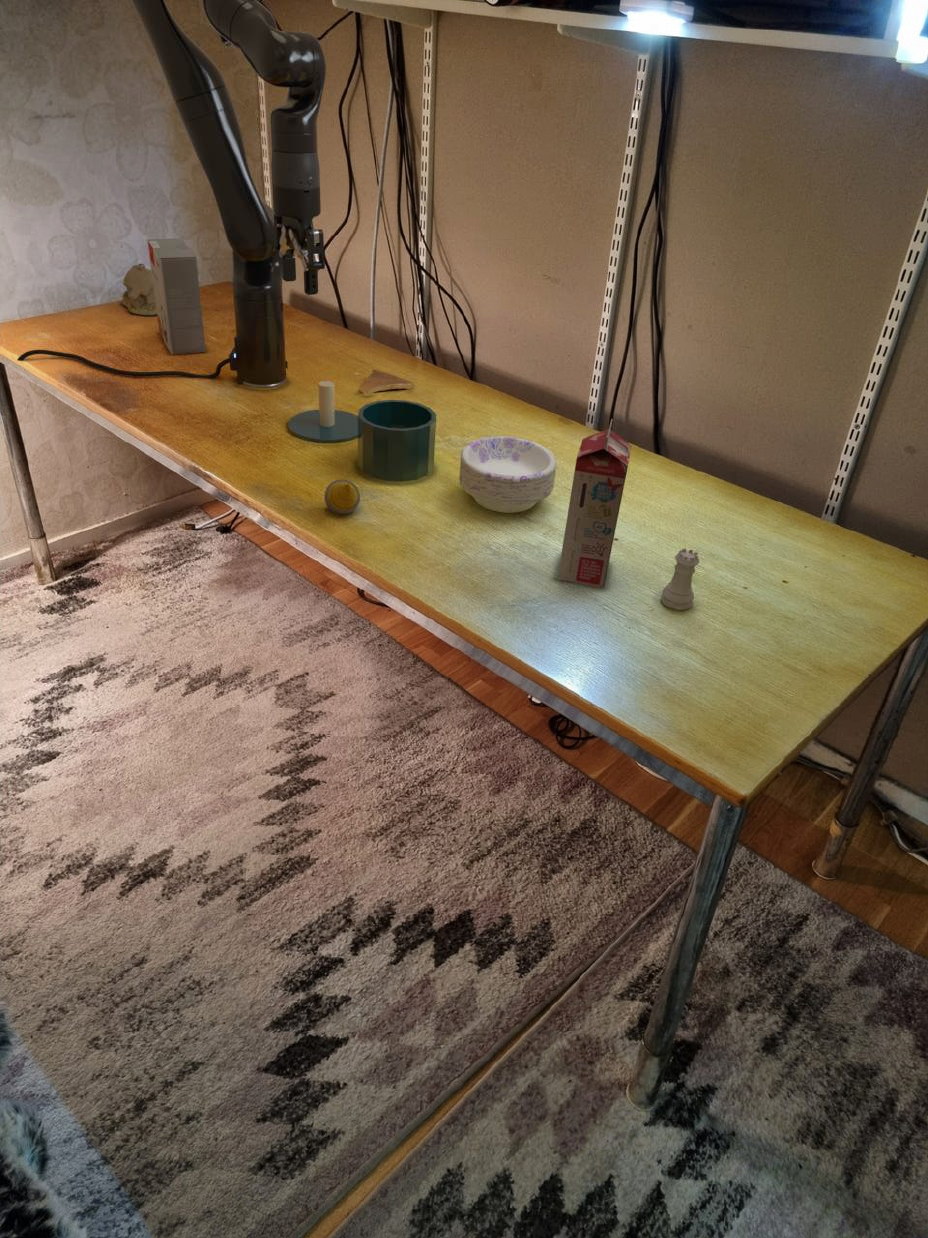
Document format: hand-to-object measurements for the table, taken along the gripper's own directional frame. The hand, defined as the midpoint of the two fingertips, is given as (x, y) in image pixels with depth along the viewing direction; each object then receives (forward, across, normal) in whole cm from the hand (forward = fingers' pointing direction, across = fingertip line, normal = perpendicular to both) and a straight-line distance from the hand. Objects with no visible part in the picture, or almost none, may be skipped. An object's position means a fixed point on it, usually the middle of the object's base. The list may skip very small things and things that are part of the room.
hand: (300, 287), depth 148 cm
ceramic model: (+24, -78, -5) cm, 82 cm away
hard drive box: (+24, -50, -6) cm, 56 cm away
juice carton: (+25, +65, +12) cm, 71 cm away
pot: (+24, +24, +5) cm, 34 cm away
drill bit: (+24, +35, -10) cm, 43 cm away
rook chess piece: (+25, +77, +19) cm, 83 cm away
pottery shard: (+24, -8, +22) cm, 34 cm away
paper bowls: (+24, +42, +15) cm, 51 cm away
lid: (+24, +5, +2) cm, 24 cm away
